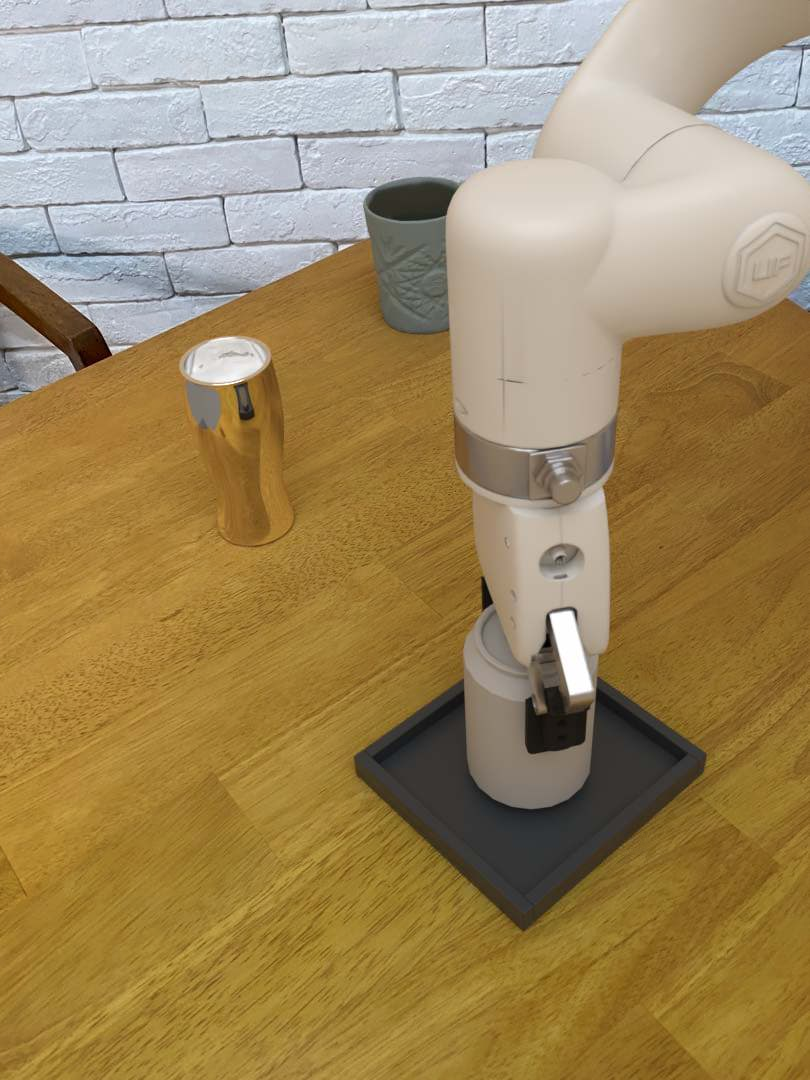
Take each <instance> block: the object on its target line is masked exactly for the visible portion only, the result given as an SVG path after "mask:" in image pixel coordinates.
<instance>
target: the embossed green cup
mask: <svg viewBox="0 0 810 1080" xmlns="http://www.w3.org/2000/svg"><path fill="white" fill-rule="evenodd" d="M461 185H462V183H459V182H458V181H455V180H452V179H448V178H444V177H437V176H436V177H435V176H413V177H405V178H399V179H395V180H392V181H388V182H386V183H383V184H381V185H378V186H377V187H375V188H373V189H371V190H370V191H369V192H368V193H367V194H366V195H365V197H364V199H363V202H362V207H363V212H364V218H365V223H366V230H367V232H368V236H369V241H370V245H371V252H372V258H373V265H374V270H375V273H376V282H377V286H378V292H379V301H380V308H381V313H382V317H383V319H384V321H385V323H386V324H387V325H388V326H389V327H391V328H392V329H394V330H397V331H398V332H404V333H408V334H418V335H422V334H423V335H427V334H428V335H429V334H435V333H436V334H437V333H441V332H445V331H448V330H450V328H449V305H448V281H447V258H446V216H447V211H448V207H449V205H450V202H451V200H452V197H453V195H454V194H455V192H456V191H457V189H458V188H459V187H460V186H461Z"/></svg>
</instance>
